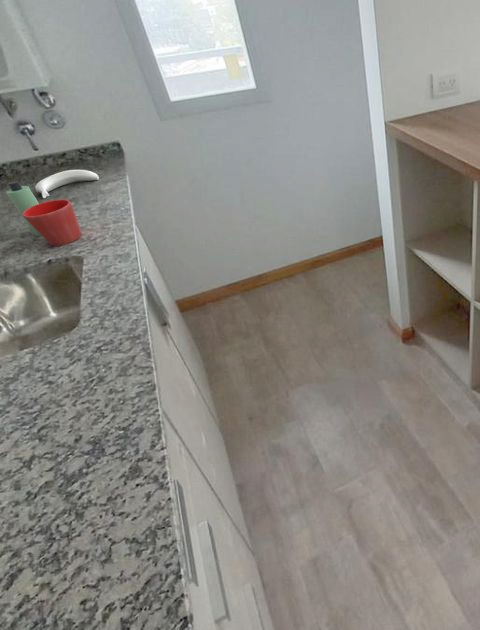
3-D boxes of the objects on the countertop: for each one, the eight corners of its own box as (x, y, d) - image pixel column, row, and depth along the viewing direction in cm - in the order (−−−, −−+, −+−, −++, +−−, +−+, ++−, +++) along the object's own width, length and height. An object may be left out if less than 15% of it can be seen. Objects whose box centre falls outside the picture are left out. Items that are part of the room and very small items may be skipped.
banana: (101, 175, 168) (96, 188, 157) (45, 189, 163) (36, 203, 152) (93, 162, 165) (88, 174, 154) (36, 176, 160) (27, 189, 149)
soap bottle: (34, 237, 127) (-1, 187, 118) (35, 231, 131) (2, 182, 122) (54, 232, 129) (22, 182, 120) (55, 225, 133) (24, 177, 123)
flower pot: (88, 240, 123) (68, 208, 117) (42, 252, 119) (19, 219, 113) (89, 227, 130) (70, 195, 124) (45, 238, 126) (24, 206, 120)
